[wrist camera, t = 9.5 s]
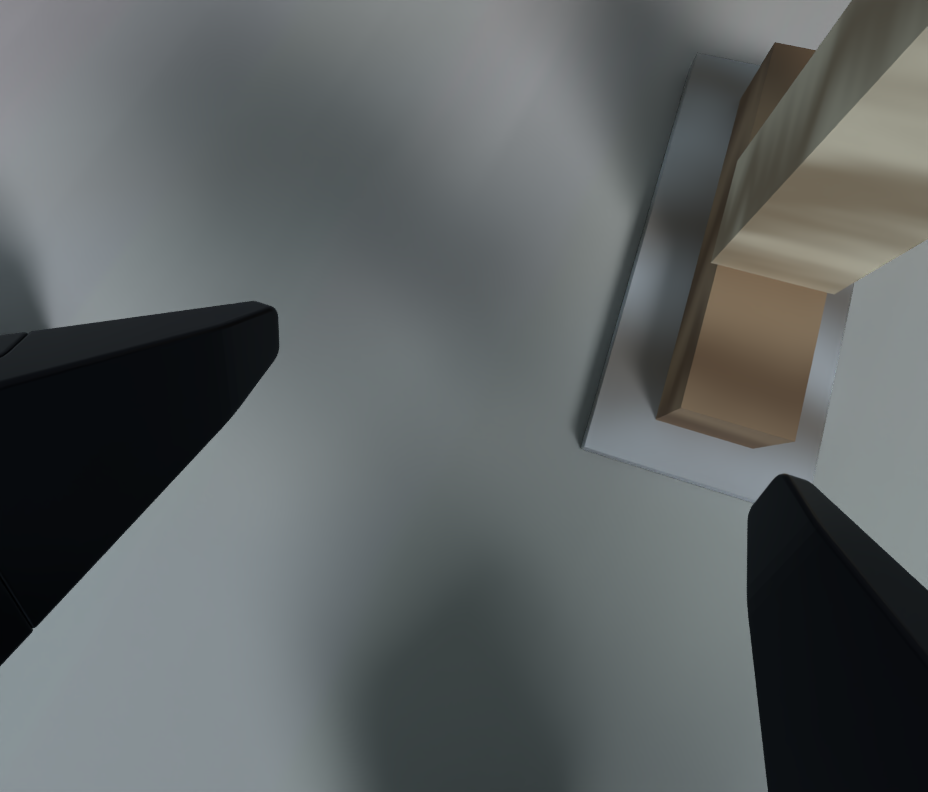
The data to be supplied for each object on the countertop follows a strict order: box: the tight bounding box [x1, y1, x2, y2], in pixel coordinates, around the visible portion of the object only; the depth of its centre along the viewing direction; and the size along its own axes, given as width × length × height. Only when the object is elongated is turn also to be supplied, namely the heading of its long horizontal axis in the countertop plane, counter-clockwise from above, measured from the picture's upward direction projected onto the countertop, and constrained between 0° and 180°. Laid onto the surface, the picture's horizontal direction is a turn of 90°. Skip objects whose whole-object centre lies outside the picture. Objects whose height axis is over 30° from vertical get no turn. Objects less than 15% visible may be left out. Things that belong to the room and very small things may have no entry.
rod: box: [711, 0, 928, 294], centre depth 13 cm, size 4×4×13 cm
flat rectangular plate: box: [581, 42, 854, 503], centre depth 21 cm, size 20×9×4 cm, turn 162°
